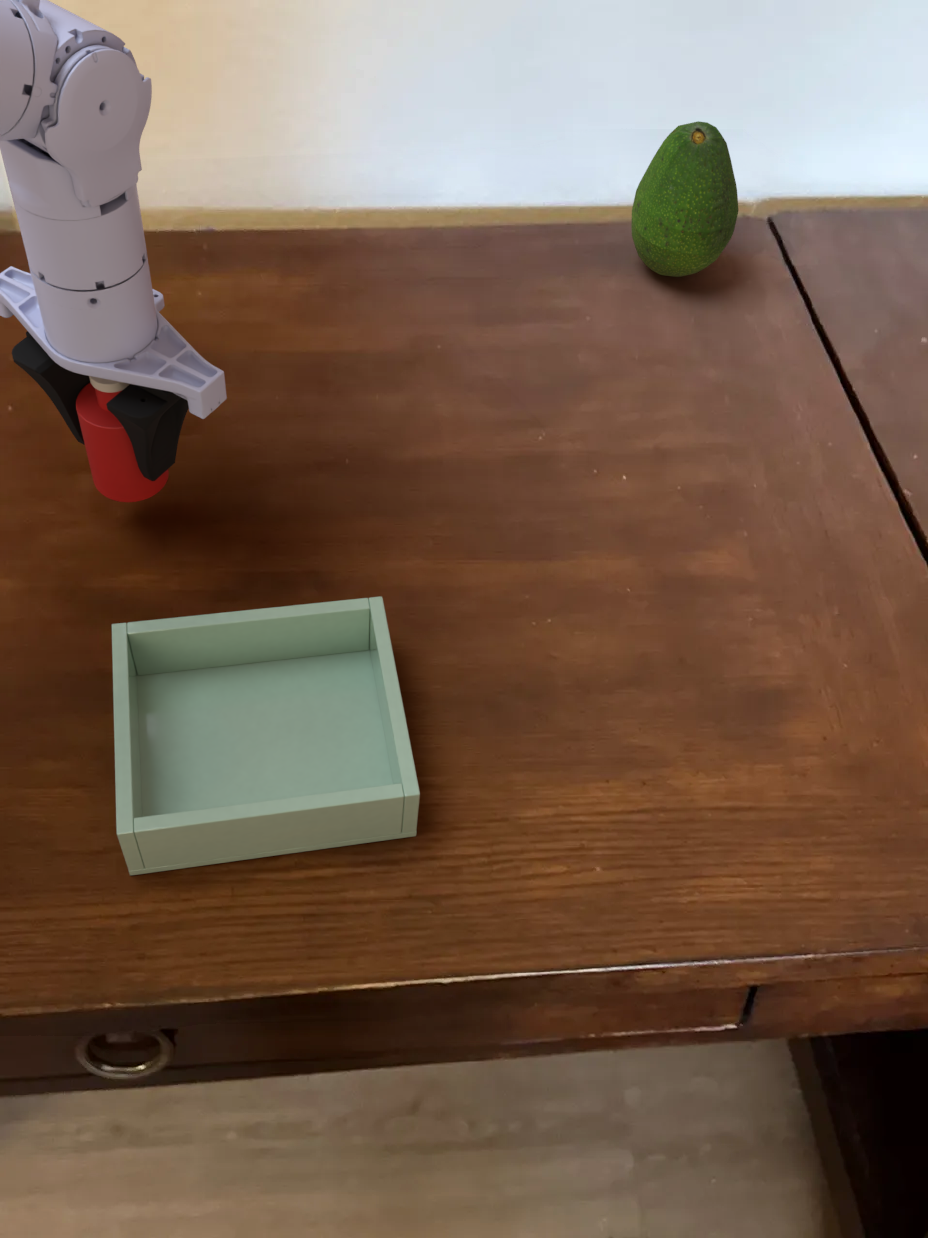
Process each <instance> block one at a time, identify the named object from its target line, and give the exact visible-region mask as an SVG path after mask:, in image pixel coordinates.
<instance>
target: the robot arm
mask: <svg viewBox="0 0 928 1238" xmlns="http://www.w3.org/2000/svg"><path fill="white" fill-rule="evenodd" d="M125 46H126V43H125V42H124V40H122V39H121V38H120V37H118V35H116V34H114V33H112V32H111V31H109V30H106V29H105V28H103V27H101V26H99V25H97V24H95V23H93V22H91V21H89V20H88V19H85V18H83V17H81V16H79V15H77V14H76V13H73V12H71V11H70V10H68V9H66V8H64V7H62V6H60V5H58V4H57V3H55V2H52V1H51V0H0V154H1V159H2V162H3V166H4V171H5V174H6V178H7V182H8V186H9V191H10V194H11V199H12V202H13V207H14V211H15V214H16V219H17V223H18V226H19V231H20V234H21V238H22V239H21V240H22V243H23V247H24V251H25V255H26V259H27V262H28V263H27V265H28V268H29V272H27V271H24V270H23V269H22V270H21V269H19V268H17V267H15V266H12V265H10V266H9V267H7V268H6V269H4V270H3V271H1V272H0V316H1V317H2V318H4V319H10V318H11V317H13V316H14V317H15V318H16V320H17V321H18V322H19V323H20V324H21V325H22V326H23V327H24V329H25V330H26V332H25V335H26V336H25V337H24V338H23V339H21V340H20V341H19V342H18V343H16V344H15V345H14V346H13V348H12V349H11V356H12V360H13V363H14V364H16V365H17V366H18V367H20V368H21V369H22V370H23V371H24V372H25V373H26V374H28V376H30V377H31V378H32V379H33V380H34V382H36V383H37V385H38V386H39V387H40V388H41V389H42V390H43V392H44V393H45V394H46V395H47V397H48V398H49V399H50V401H51V402H52V403H53V405H54V407H55V408H56V409H57V411H58V413H59V415H60V416H61V417H62V419H63V421H64V422H65V424H66V426H67V427H68V429H69V430H70V432H71V434H72V435H73V437H74V438H75V440H76V441H77V442H78V443H80V444H82V445H84V446H85V443H84V439H83V435H82V431H81V427H80V422H79V418H78V414H77V410H76V400H77V396H78V394H79V393H80V391H81V390H82V389H83V388H84V387H85V386H86V385H87V384H89V383H90V378H89V376H92V377H98V378H103V379H108V380H113V381H118V382H123V383H128V384H130V385H128V386H127V387H126V388H125V389H123V390H122V391H121V392H120V393H119V394H117V395H116V396H115V397H114V398H113V399H111V400H110V401H109V402H108V403H107V404H106V405H107V409H108V410H109V411H110V412H111V413H112V414H113V415H114V416H115V417H116V418H117V419H118V420H119V422H120V423H121V424H122V426H123V427H124V429H125V431H126V433H127V434H128V437H129V439H130V441H131V443H132V446H133V450H134V454H135V457H136V461H137V464H138V467H139V469H140V471H141V473H142V474H143V476H144V477H145V478H147V479H149V480H151V481H155V480H156V479H158V478H159V477H160V476H161V475H162V474H163V473H164V472H165V471H166V470H169V469H170V468H171V467H172V466H173V465H174V464H176V458H177V453H178V452H177V451H178V445H179V441H180V440H179V439H180V435H181V431H182V427H183V424H184V421H185V418H186V415H187V413H188V411H189V413H190V414H192V415H194V416H196V417H198V418H200V419H202V420H204V419H206V418H207V417H208V416H210V414H211V413H213V412H214V411H215V410H217V408H219V407H220V406H221V405H222V404H223V403H224V402H225V401H226V400H227V399H228V397H227V387H226V377H225V376H226V375H225V371H224V370H222V369H220V368H219V367H217V366H216V365H213V364H212V363H211V362H209V361H208V360H207V359H205V358H204V357H203V356H202V355H201V354H200V353H199V352H198V351H197V350H196V349H195V348H194V347H193V346H192V345H191V344H190V343H189V342H188V341H187V340H186V338H184V337H183V335H182V334H180V332H179V331H177V329H176V328H175V327H174V326H173V325H172V324H171V323H170V322H169V321H168V320H167V319H166V317H164V316H163V315H162V313H160V312H161V311H162V310H163V309H164V308H165V306H166V305H165V298H164V294H163V293H161V291H158V290H156V289H154V288H153V284H152V276H151V271H150V270H151V269H150V265H149V259H148V257H149V256H148V251H147V250H148V249H147V243H146V238H145V230H144V223H143V218H142V212H141V205H140V198H139V192H138V191H139V190H138V185H137V184H138V182H139V173H140V172H141V171H142V170H143V168H142V162H141V161H142V160H141V155H140V154H141V153H140V144H141V138H142V135H143V132H144V130H145V127H146V125H147V122H148V118H149V116H150V110H151V105H152V97H153V96H152V94H153V87H152V78H151V77H149V76H147V77H145V75H144V74H142V73H140V70H139V68H138V65H137V62H136V59H135V57H134V55H133V52H132V51H131V49H129V48H127V47H125Z"/></svg>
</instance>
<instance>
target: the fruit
mask: <svg viewBox="0 0 928 1238" xmlns="http://www.w3.org/2000/svg"><path fill="white" fill-rule="evenodd" d="M739 211H740V210H739V198H738V188H737V182H736V177H735V173H734V169H733V163H732V159H731V155H730V151H729V147H728V143H727V141H726V140H725V138H724V137H723V135H722V133H721V132H720V131H719V129H718V128H717V127H716V126H714V125H713V124H711V123H709V122H706V121H699V120H698V121H694V122H687V123H686V124H685V123H684V124H680V125H678V126H676V127H675V128H674V129H673V130H672V131H671V132H670V133H669V134H668V135H667V136H666V138H664V140H663V141H662V142H661V145H660V146H659V148H658V149H657V150H656V153H655V154H654V155H653V158H652V159H651V161H650V163H649V165H648V166H647V168H646V170H645V172H644V173H643V176H642V178H641V179H640V182H639V183H638V185H637V188H636V190H635V194H634V199H633V203H632V208H631V225H630V226H631V238H632V241H633V244H634V248H635V250H636V253H637V255H638V257H639V258H640V260H641V261H642V263H643V264H644V265H645V266H646V267H647V268H648V269H650V270H651V271H652V272H654V273H656V274H658V275H660V276H667V277H675V278H680V277H686V276H690V275H694V274H697V273H699V272H701V271H703V270H705V269H706V268H708V267H709V266H710V265H712V264H713V263H715V262H716V261H717V260H718V258H719V257H720V256H721V254H722V253H723V251H724V250H725V249H726V248H727V245H728V244H729V242H730V241H731V239H732V237H733V235H734V232H735V228H736V224H737V219H738V216H739V215H738V214H739Z"/></svg>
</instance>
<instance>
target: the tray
mask: <svg viewBox="0 0 928 1238" xmlns="http://www.w3.org/2000/svg"><path fill="white" fill-rule="evenodd" d="M111 657H112V658H111V660H112V661H111V662H112V663H111V664H112V666H111V667H112V703H113V704H112V705H113V706H112V708H113V743H114V744H113V745H114V748H113V749H114V788H115V793H114V794H115V829H116V832H115V833H116V834H115V835H116V837H117V840H118V843H119V846H120V849H121V852H122V855H123V859H124V861H125V865H126V867H127V870H128V874H129V876H137V875H144V874H153V873H158V872H159V873H160V872H166V871H174V870H181V869H188V868H195V867H196V868H197V867H204V866H209V865H217V864H224V863H225V864H226V863H232V862H238V861H239V862H240V861H246V860H255V859H260V858H267V857H268V858H269V857H273V856H275V857H276V856H283V855H290V854H296V853H305V852H311V851H319V850H326V849H333V848H340V847H347V846H355V845H361V844H367V843H376V842H383V841H390V840H391V841H392V840H397V839H404V838H405V839H406V838H412V837H417V832H418V831H417V829H418V821H419V811H420V810H419V809H420V799H421V790H420V785H419V780H418V777H417V769H416V765H415V760H414V754H413V748H412V744H411V738H410V734H409V728H408V723H407V717H406V711H405V707H404V702H403V697H402V692H401V691H402V690H401V686H400V681H399V676H398V671H397V665H396V660H395V655H394V650H393V644H392V640H391V633H390V629H389V623H388V619H387V613H386V607H385V603H384V598H383V596H382V595H380V596H370V597H362V598H351V599H341V600H333V601H332V600H331V601H323V602H322V601H321V602H312V603H311V602H310V603H304V604H303V603H302V604H293V605H284V606H274V607H264V608H253V609H245V610H234V611H226V612H224V611H223V612H215V613H206V614H195V615H185V616H178V617H177V616H176V617H175V616H174V617H166V618H165V617H164V618H157V619H156V618H155V619H148V620H147V619H146V620H137V621H128V622H120V623H119V622H117V623H111Z"/></svg>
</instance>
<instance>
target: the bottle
mask: <svg viewBox="0 0 928 1238" xmlns="http://www.w3.org/2000/svg"><path fill="white" fill-rule="evenodd" d="M89 378H90V383H89V384H87V385H86V386H85V387H84V388H83V389H82V390H81V391H80V393H79V394H78V396H77V400H76V410H77V414H78V418H79V422H80V427H81V431H82V435H83V439H84V443H85V445H84V447H85V452H86V456H87V460H88V464H89V468H90V469H89V470H90V473H91V476H92V481H93V485H94V487H95V488H96V490H97V491H98V492H99V493H100V494H101V495H102V496H104V497H105V498H107V499H110V500H112V501H115V502H119V503H136V502H141V501H144V500H147V499H150V498H151V497H154V496H155V495H157V494H158V493H160V491H162V490H163V488H164V487H165V486H166V484H167V482H168V480H169V477H170V471H169V469H168V470H166V471H165V472H164V473H163V474H162V475H161V476H160V477H159V478H158V479H156V480H155V481H151V480H149V479H147V478H145V477H144V476H143V474H142V473H141V471H140V469H139V467H138V464H137V461H136V457H135V454H134V450H133V446H132V443H131V441H130V439H129V437H128V434H127V433H126V431H125V429H124V427H123V426H122V424H121V423H120V422H119V420H118V419H117V418H116V417H115V416H114V415H113V414H112V413H111V412H110V411H109V410H108V409H107V405H106V404H107V403H108V402H109V401H110V400H111V399H113V398H114V397H115V396H116V395H117V394H119V393H120V392H121V391H122V390H123V389H125V388H126V387H127V386H128V385H130V384H128V383H123V382H118V381H113V380H108V379H103V378H98V377H92V376H89Z"/></svg>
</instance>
